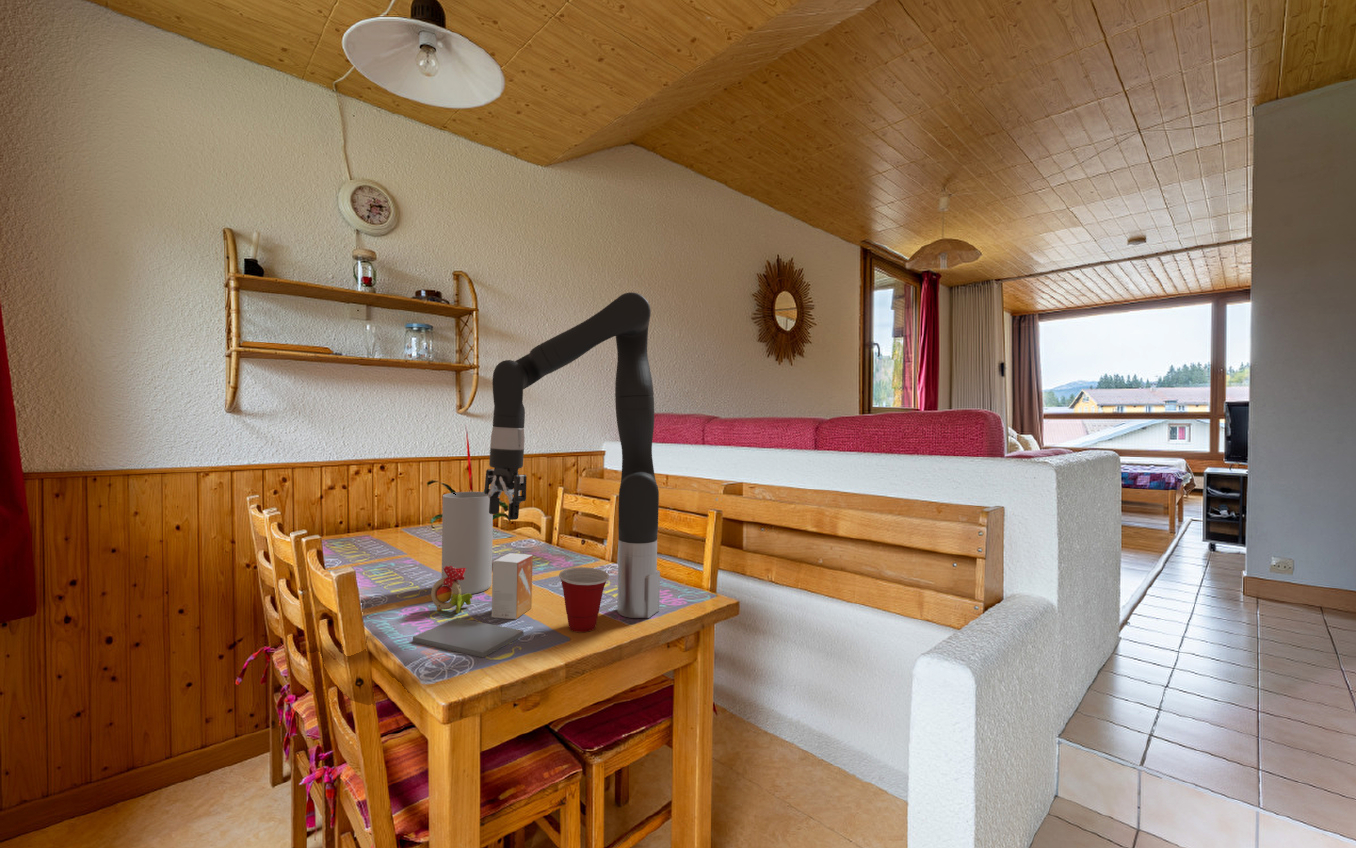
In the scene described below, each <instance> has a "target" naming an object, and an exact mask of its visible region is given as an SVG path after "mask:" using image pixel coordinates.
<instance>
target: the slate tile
mask: <svg viewBox="0 0 1356 848" xmlns="http://www.w3.org/2000/svg"><path fill="white" fill-rule="evenodd" d="M524 632H525V631H524V630H522V629H516V628H511V627H506V626H501V625H497V624H496V625H495V624H491V623H486V622H481V621H475V620H472V619H471V620H469V619H466V618H465V619H464V618H459V617H456V618H454V619H451V620H450V621H447V622H446V621H445V622H444V623H442V624H439V625H437V626H434V627H432V628H431V629H428V630H425V631H424V632H421V633H419V634H416V635H414V636H412V643H416V644H420V645H421V644H422V645H427V646H430V647H434V648H439V649H444V650H448V651H452V652H456V653H462V654H466V655H470V656H475V657H479V658H485V657H486V656H489V655H490V654H493V653H494V652H496V651H498V650H500V649H501V648H503V647H505V646H507V645H508V644H510V643H513V642H514V641H516V640H518V639H520V638H521V637H523V636H524Z"/></svg>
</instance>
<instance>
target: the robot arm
mask: <svg viewBox="0 0 1356 848" xmlns="http://www.w3.org/2000/svg"><path fill="white" fill-rule="evenodd" d="M651 312H652V311H651V306H650V303H649V301H648V300H647V299H646V297H644V296H643V295H642V294H640V293H637V292H634V291H632V292H625V293H623V294H621V295H619V296H618V297H617V298H615V299H614V300H612V301H611V302H610V303H609V304H608V305H606V306H605V307H604V308H602V309H601V310H600V311H598V312H597V313H595V314H594V315H592V316H590V317H589V318H588V319H586V320H584V321H583V322H581V323H579V324H576V325H575V326H573V327H571V328H569V329H567V330H565V331H563V332H561V333H559V334H558V335H556V336H553V337H552V338H550V339H547V340H545V341H544V342H541V343H540V344H538V345H536V346H534V347H533V348H532V349H530V351H529V353H527V354H526V355H523V356H522V357H520V358H518V359H516V360H511V359H507V360H506V359H505V360H502V361H500V362H498V364H496V366H495V368H494V370H493V372H492V373H493V374H492V383H491V384H492V399H493V403H494V404H493V416H492V429H491V435H490V447H489V448H490V450H489V461H488V462H489V466H490V468H487V469H486V470H485V477H484V478H485V480H484V490H483V492H484V493H485V494H488V497H489V498H490V503H489V513H490V514H493V515H497V514H499V513H500V503H501V502H500V501H501V500H500V499H501V498H500V497H501V495H502V493H504V495H505V496H507V500H508V502H509V503H508V510H507V511H508V514H507V518H508V520H510V521H514V520H518V519H519V515H520V513H519V512H520V504H521V503H522V502H525V501H526V500H527V474H519V469H521V468H523V466H524V455H525V440H526V439H525V421H526V419H525V418H526V409H525V406H524V403H523V401H524V400H523V398H524V390H525V389H527V388H528V387H531V386H532V385H533V384H535V383H537V382H539V380H541V379H542V378H544V377H545V376H547V375H550V374H553V372H556V371H558V370H560V369H561V368H564V367H566V366H568V365H569V364H571V363H574V361H575V360H577V359H578V358H581V356H583V355H584V354H586V353H588V352H589V351H591V350H592V349H593V348H596V347H597V346H598V345H600V344H601V343H603V342H605V341H607V340H609V339H611V338H613V337H615V341H616V342H615V343H616V344H615V345H616V350H617V362H616V370H615V389H614V392H615V393H614V397H615V399H614V400H615V401H614V402H615V403H614V404H615V417H616V418H615V419H616V423H617V424H616V425H617V431H618V437H619V441H620V447H621V458H622V459H621V476H620V477H621V478H620V486H619V489H618V490H619V491H618V527H617V528H618V541H617V542H618V543H617V544H618V548H617V549H618V553H617V603H616V605H617V607H616V609H617V610H616V611H617V614H618V615H620V616H622V617H625V618H632V619H639V618H642V619H643V618H645V619H649V618H651V617H652V616H654V615H655V614H657V612H660V601H661V600H660V599H661V597H660V594H661V593H660V592H661V571H660V570H658V568H657V567H658V531H659V530H658V529H659V510H660V509H659V508H660V507H659V506H660V505H659V503H660V499H659V498H660V494H659V491H660V490H659V486H658V484H657V480H656V474H655V468H654V462H653V461H654V460H653V439H654V429H655V397H654V395H655V394H654V385H653V378H652V373H651V367H650V362H649V358H648V357H649V356H648V338H649V325H650V322H651V321H650V319H651ZM520 492H521V493H520ZM520 494H521V495H520Z"/></svg>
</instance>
